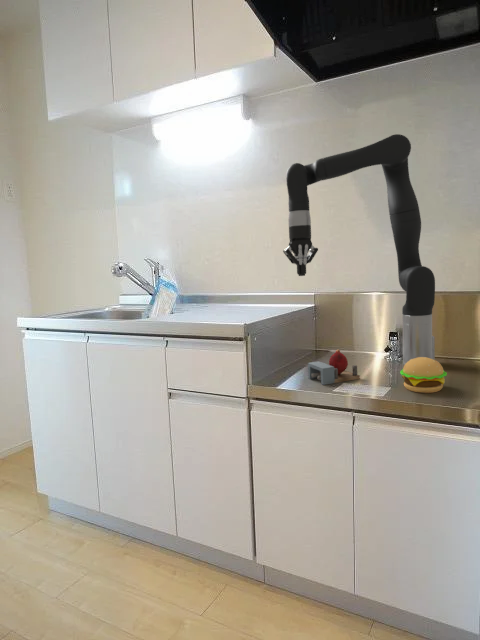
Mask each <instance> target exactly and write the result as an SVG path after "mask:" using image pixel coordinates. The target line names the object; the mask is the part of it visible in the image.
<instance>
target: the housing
mask: <svg viewBox="0 0 480 640" xmlns="http://www.w3.org/2000/svg"><path fill="white" fill-rule="evenodd" d="M319 372H321V380H320V384H321V385H322V386H323V385H325V386H326V385H330V384H335V377H334V367H333V366H331V365H329V363H325V362H322V361H319V360H318V361H311V362H307V374H308V375H307V376H308V377H307V378H308V379H309V380H312V379H313V380H314V379H317V377H312V376H311V374H313V373H319Z"/></svg>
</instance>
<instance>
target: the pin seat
mask: <svg viewBox="0 0 480 640" xmlns="http://www.w3.org/2000/svg"><path fill="white" fill-rule="evenodd" d="M351 368H352V372H351V371H348V370H346V369H345V370H344V371H343V372H342V373H341V374H339V375H338V369H337V368H334V377H335V383H337V384H338V383H342V382H348V381H355V380H360V378H361V375H359V374H358V365H355V364H354V365H352V367H351ZM311 376H312V377H317V378H316V379H317V380H318V381H319V380H320V381H321V372H319V373H313V374H311ZM335 383H334V384H335Z"/></svg>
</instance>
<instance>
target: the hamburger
mask: <svg viewBox="0 0 480 640" xmlns="http://www.w3.org/2000/svg"><path fill="white" fill-rule="evenodd" d="M399 373H400V375H401V377H402V379H404V382H403V385H404V387H405V389H406V390H408V391H410V392H416V393H424V394H430V393H431V394H432V393H437V392H440V391H441V390H442V389H443V387H444V384H445V383H446V379H445V377H447V374H448V373H447V371H445V370H444V368H443V366H442V364H441V363H440V362H439V361H437V360H436V359H435V360H433V359H430V358H427V357H418V358H414V359H411V360H409V361H408V362H407V363H406V364H405V365H404V364H403V368H402V369H401V370H400V371H399Z"/></svg>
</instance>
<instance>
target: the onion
mask: <svg viewBox="0 0 480 640" xmlns="http://www.w3.org/2000/svg"><path fill="white" fill-rule="evenodd" d="M328 365H331V366H333V367H334V368H337V369H338V375H339V374H341V373H342V372H343V371H344V370H345V371H346V369H347V368H348V366H349V363H348V359H347V357H346V355H344V354H343V353H342V352H341V350H340V349H336V350H335V352H334V353H333V354H332V355H331V356H330V358H329V360H328Z"/></svg>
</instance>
